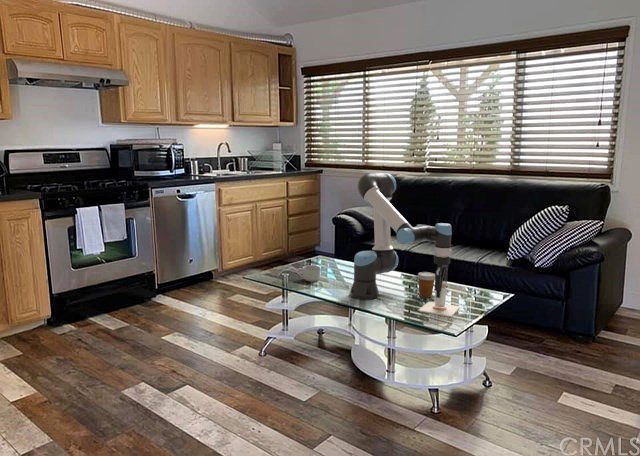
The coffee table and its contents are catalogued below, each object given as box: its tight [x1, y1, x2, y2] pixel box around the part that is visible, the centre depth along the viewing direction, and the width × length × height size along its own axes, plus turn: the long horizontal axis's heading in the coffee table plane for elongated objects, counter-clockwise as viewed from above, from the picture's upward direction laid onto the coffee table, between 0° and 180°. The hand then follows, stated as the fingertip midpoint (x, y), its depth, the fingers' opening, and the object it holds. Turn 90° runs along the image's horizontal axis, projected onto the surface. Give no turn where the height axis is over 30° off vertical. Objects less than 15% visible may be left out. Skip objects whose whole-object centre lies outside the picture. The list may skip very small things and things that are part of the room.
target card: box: [418, 300, 461, 318], centre depth 241 cm, size 16×16×1 cm
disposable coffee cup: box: [417, 271, 435, 298], centre depth 262 cm, size 10×10×12 cm
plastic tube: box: [434, 281, 447, 307], centre depth 240 cm, size 5×5×12 cm
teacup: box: [296, 264, 322, 283], centre depth 291 cm, size 14×11×8 cm
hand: (440, 302), depth 240 cm, fingers closed on plastic tube, 5 cm apart
